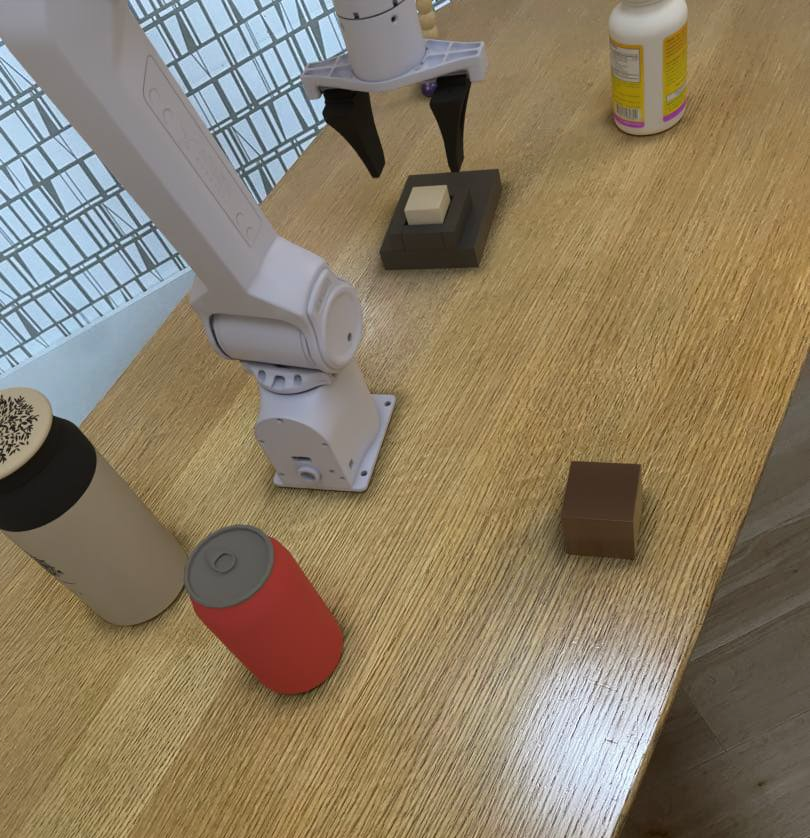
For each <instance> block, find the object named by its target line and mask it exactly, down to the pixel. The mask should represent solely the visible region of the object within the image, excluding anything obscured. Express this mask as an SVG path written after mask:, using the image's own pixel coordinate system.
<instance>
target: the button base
mask: <svg viewBox="0 0 810 838" xmlns="http://www.w3.org/2000/svg"><path fill="white" fill-rule="evenodd" d="M439 185H447V189H448V193H449V197H450V205H449V208H448V210H447V213H446V216H445V219H444V222H443V223H442V224H422V225H408V222H407V218H406V215H405V211H404V209H405V207H406V204H407V201H408V199H409V196H410V194H411V191H412V188H413V187H424V186H439ZM502 190H503V185H502V180H501V174H500V169H499V168H489V169H477V170H460V171H459V172H454V173H451V171H448V172H432V173H420V174H409V175H408V176H407V178H406V181H405V183H404V186H403V189H402V191H401V194H400V195H399V199H398V201H397V203H396V206H395V208H394V211H393V214H392V217H391V219H390V222H389V224H388V227H387V228H386V229H387V230H386V232H385V235H384V237H383V240H382V243H381V245H380V248H379V251H378V253H379V256H380V259H381V262H382V264H383V268H384V271H404V270H405V271H407V270H438V269H439V270H441V269H471V268H479V267H480V264H481V261H482V257H483V254H484V250H485V247H486V244H487V241H488V238H489V235H490V232H491V227H492V224H493V221H494V217H495V214H496V210H497V209H498V204H499V201H500V198H501V194H502Z"/></svg>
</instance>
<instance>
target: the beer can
mask: <svg viewBox="0 0 810 838" xmlns="http://www.w3.org/2000/svg"><path fill="white" fill-rule="evenodd" d="M187 559H188V560H187V563H186V565H185V568H184V580H183V582H184V585H183V586H184V587H185V591H186V593H187V594H188V597H189V599H190V602H191V605H192V608H193V611H194V613H195V615H196V616H197V618H198V619H199V620H200V621H201V622H202V623H203V624H204V626H205V627H206V628H207V629H208V630H209V631H210V632H211V633H212V634H213V636H215V637H216V638H217V639H218V640H219V641H220V642H221V643H222V644H223V645H224V646H225V648H226V649H228V650H229V651H230V653H231V654H233V656H234V657H235V658H236V659H237V660H238V661H239V662H240V663H241V665H243V666H244V667H245V668H246V669H247V670H248V671H249V672H250V673H251V674H252V676H254V677H255V678H256V679H257V680H258V682H260V684H261V685H263V686H264V687H265V688H266V689H268V690H270V691H272V692H274V693H276V694H283V695H296V694H301V693H306V692H308V691H310V690H312V689H314V688H316V687H318V686H320V685H321V684H323V682H324V681H325V680H327V679H328V678H329V677H330V676H331V675H332V674H333V672H334V670H335V669H336V667H337V666H338V664H339V662H340V660H341V655H342V653H343V648H344V640H343V631H342V628H341V627H340V624H339V622H338V620H337V619H336V617H335V616H334V615H333V613H332V611H331V610H330V609H329V607H328V605H327V604H326V603H325V601H324V600H323V598H322V597H321V595H320V594H319V592H318V591H317V589H316V588H315V587H314V585H313V584H312V582H311V581H310V579H309V578H308V576H307V575H306V574H305V572H304V570H303V569H302V567H301V566H300V565H299V563H298V562H297V560H296V559H295V557H294V556H293V554H292V553H291V552H290V551H289V550H288V549H287V548H286V547H285V546H284V545H283V544H282V543H281V542H280V541H278V540H277V539H276V538H275V537H272V536H270V535H268V534H266V533H265V532H264V530H262V529H261V528H259V527H256V526H253V525H251V524H241V523H240V524H237V523H236V524H232V525H231V524H230V525H227V526H223V527H220V528H219V529H217V530H215V531H213V532H211V533H209V534H208V535H206V536H205V537H204V538H203V539H202V540H201V541H199V542H198V543H197V544H196V546H195V547H194V548H193V549H192V551H191V553H190V554H189V555H188V557H187Z"/></svg>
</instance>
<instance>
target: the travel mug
mask: <svg viewBox="0 0 810 838" xmlns="http://www.w3.org/2000/svg"><path fill="white" fill-rule="evenodd" d="M0 532H1V533H2V534H3V535H4V536H5V537H6V538H8V539H9V540H10V541H11V542H13V544H15V545H16V546H17V547H18V548H20V549H21V550H22V551H23V552H24V553H25V554H26V555H28V556H29V557H30V558H31V559H32V560H33V561H34V562H36V563H37V564H38V565H40V567H41V568H43V569H44V570H45V571H47V573H49V575H51V576H52V577H54V578H55V579H56V580H57V581H58V582H59V583H61V584H62V585H63V586H64V587H65V588H66V589H67V590H68V591H70V592H71V593H72V594H73V595H75V596H76V597H77V598H78V599H79V600H80V601H82V602H83V603H84V604H85V605H86V606H87V607H89V608H90V610H92V611H93V612H94V613H96V614H97V615H98V616H99V617H100V618H101V619H103V620H104V621H106V622H107V623H109V624H112V625H116V626H133V625H134V626H135V625H138V624H142V623H145V622H147V621H149V620H151V619H154V618H155V617H157V616H158V615H160V614H161V613H162V612H164V611H165V610H166V609H167V608H168V607H169V606H170V605H172V603H173V602H174V601H175V599H176V598H177V597H178V595H179V594H180V592H181V591H182V590H183V587H184V586H185V585H184V582H183V580H184V568H185V565H186V563H187V560H188V556H187V553H186V551H185V549H184V547H183V546H182V545H181V544H180V542H178V540H177V539H176V538H175V536H173V534H172V533H171V532H170V531H169V530H168V529H167V528H166V527H165V525H164V524H163V523H162V522H161V521H160V520H159V519H158V518H157V516H156V514H154V513H153V511H152V510H150V508H149V507H148V506H147V505H146V504H145V503H144V501H143V500H142V499H141V498H140V497H139V495H138V494H137V493H136V492H135V491H134V490H133V488H131V486H130V485H129V484H128V482H126V481H125V479H124V478H123V477H122V476H121V475H120V474H119V472H118V471H117V470H116V469H115V468H114V466H112V464H110V462H109V461H108V460H107V459H106V458H105V456H104V455H103V454H102V453H101V452H100V451H99V449H98V448H96V446H95V445H94V444H93V443H92V442H91V441H90V439H89V438H88V437H87V436H86V435H85V434H84V433H83V431H82V430H81V429H80V428H79V427H78V426H77V425H76V424H75V423H73V422H72V421H71V420H69V419H66V418H62V417H60V416H57V415H54V414H53V407H52V404H51V402H50V400H49V399H48V397H47V396H46V395H45V394H44V393H42V392H41V391H39V390H37V389H34V388H31V387H24V386H15V387H9V388H4V389H0Z"/></svg>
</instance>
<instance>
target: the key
mask: <svg viewBox="0 0 810 838" xmlns="http://www.w3.org/2000/svg"><path fill="white" fill-rule="evenodd" d="M449 205H450V197H449V193H448V189H447V185H439V186H424V187H413V188H412V191H411V194H410V196H409V199H408V201H407V204H406V207H405V209H404V211H405V215H406V218H407V222H408V225H422V224H442V223H443V222H444V219H445V216H446V213H447V210H448V208H449Z"/></svg>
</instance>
